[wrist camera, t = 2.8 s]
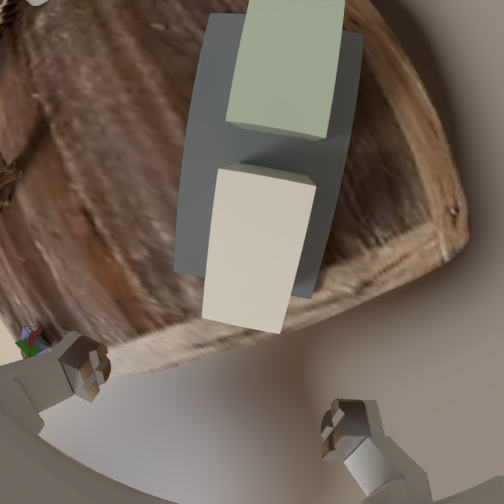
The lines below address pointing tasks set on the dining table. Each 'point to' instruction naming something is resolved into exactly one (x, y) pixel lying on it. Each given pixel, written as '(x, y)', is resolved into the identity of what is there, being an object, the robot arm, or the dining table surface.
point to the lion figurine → (2, 178)
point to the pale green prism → (287, 67)
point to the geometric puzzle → (32, 343)
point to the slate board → (258, 150)
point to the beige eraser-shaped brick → (255, 244)
